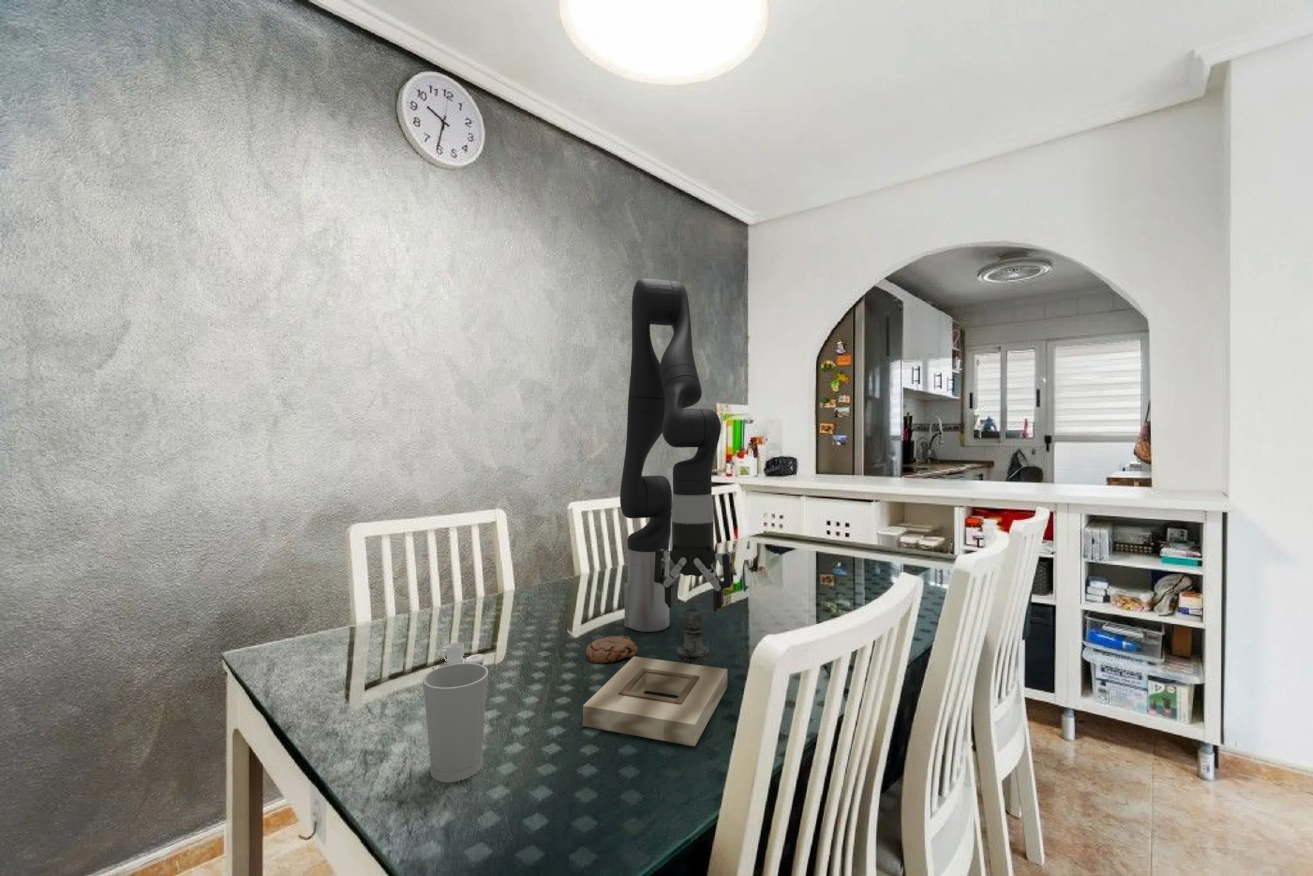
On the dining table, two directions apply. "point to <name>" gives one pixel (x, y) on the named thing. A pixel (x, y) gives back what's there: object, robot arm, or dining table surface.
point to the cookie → (611, 649)
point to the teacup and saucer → (460, 654)
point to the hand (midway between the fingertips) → (693, 608)
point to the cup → (455, 719)
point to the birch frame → (657, 700)
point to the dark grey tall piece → (692, 639)
